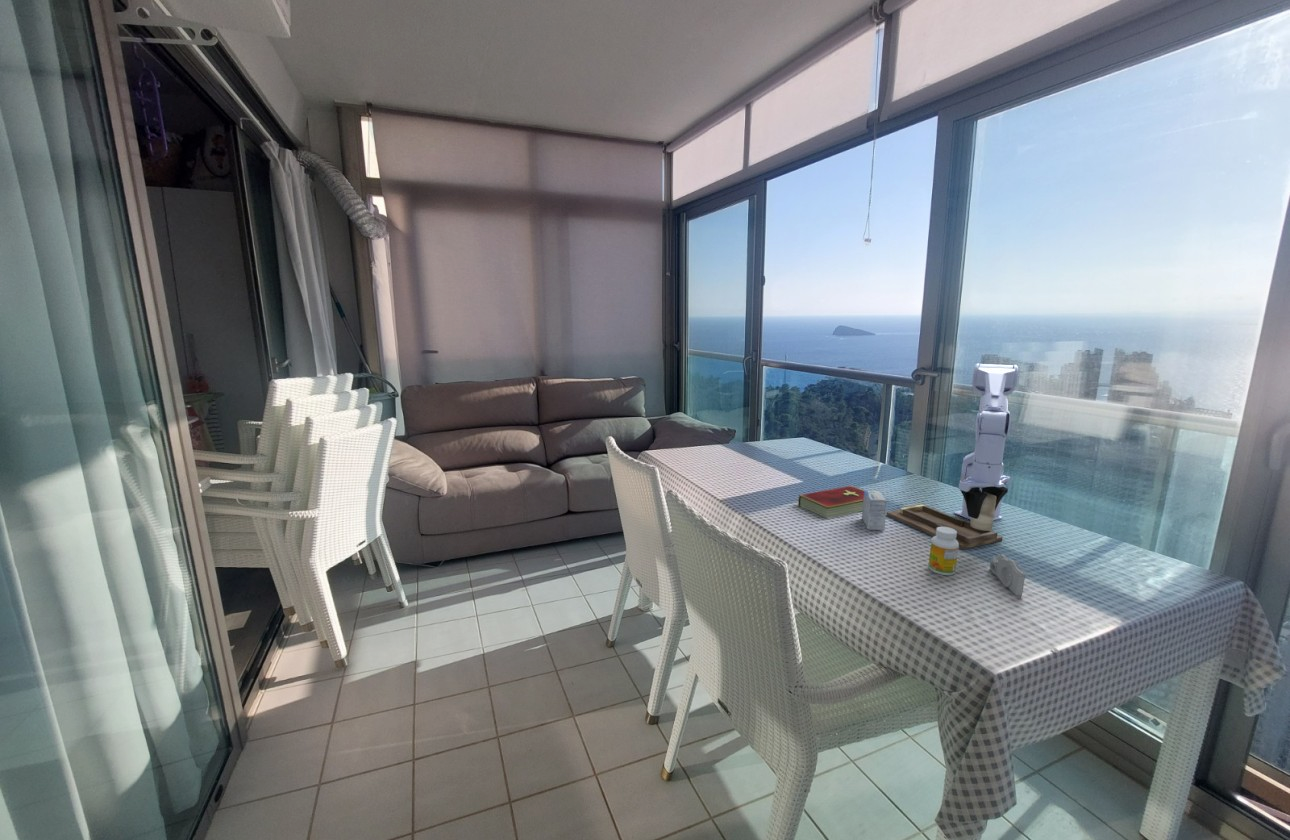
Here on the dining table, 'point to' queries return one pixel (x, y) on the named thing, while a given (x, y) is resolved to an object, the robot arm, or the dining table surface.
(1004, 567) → the grey toy camera
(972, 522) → the ash peg
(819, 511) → the hardcover book
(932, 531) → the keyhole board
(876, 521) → the medicine box
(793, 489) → the dining table surface
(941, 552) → the supplement bottle
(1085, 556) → the dining table surface
